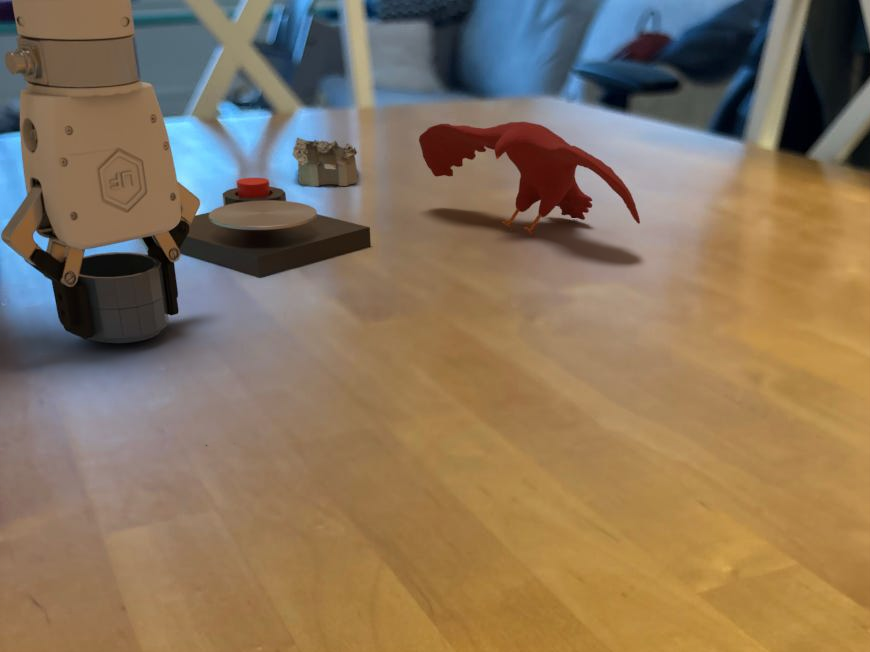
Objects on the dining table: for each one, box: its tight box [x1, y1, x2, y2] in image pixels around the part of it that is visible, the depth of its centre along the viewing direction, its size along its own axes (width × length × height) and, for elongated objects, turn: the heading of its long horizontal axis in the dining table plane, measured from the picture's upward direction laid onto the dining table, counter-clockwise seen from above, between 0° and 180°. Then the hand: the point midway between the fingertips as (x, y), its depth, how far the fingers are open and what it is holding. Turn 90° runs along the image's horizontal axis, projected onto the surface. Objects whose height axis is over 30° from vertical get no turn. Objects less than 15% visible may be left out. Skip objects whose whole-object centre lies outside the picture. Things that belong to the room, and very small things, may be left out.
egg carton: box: [292, 137, 358, 188], centre depth 133 cm, size 11×8×4 cm
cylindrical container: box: [78, 251, 170, 344], centre depth 85 cm, size 7×7×5 cm
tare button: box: [236, 177, 271, 198], centre depth 112 cm, size 3×3×2 cm
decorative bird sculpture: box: [418, 121, 641, 237], centre depth 112 cm, size 28×9×15 cm
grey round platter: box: [208, 200, 318, 230], centre depth 104 cm, size 10×10×1 cm
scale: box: [179, 186, 372, 279], centre depth 108 cm, size 17×14×4 cm
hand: (122, 320), depth 86 cm, fingers closed on cylindrical container, 6 cm apart
